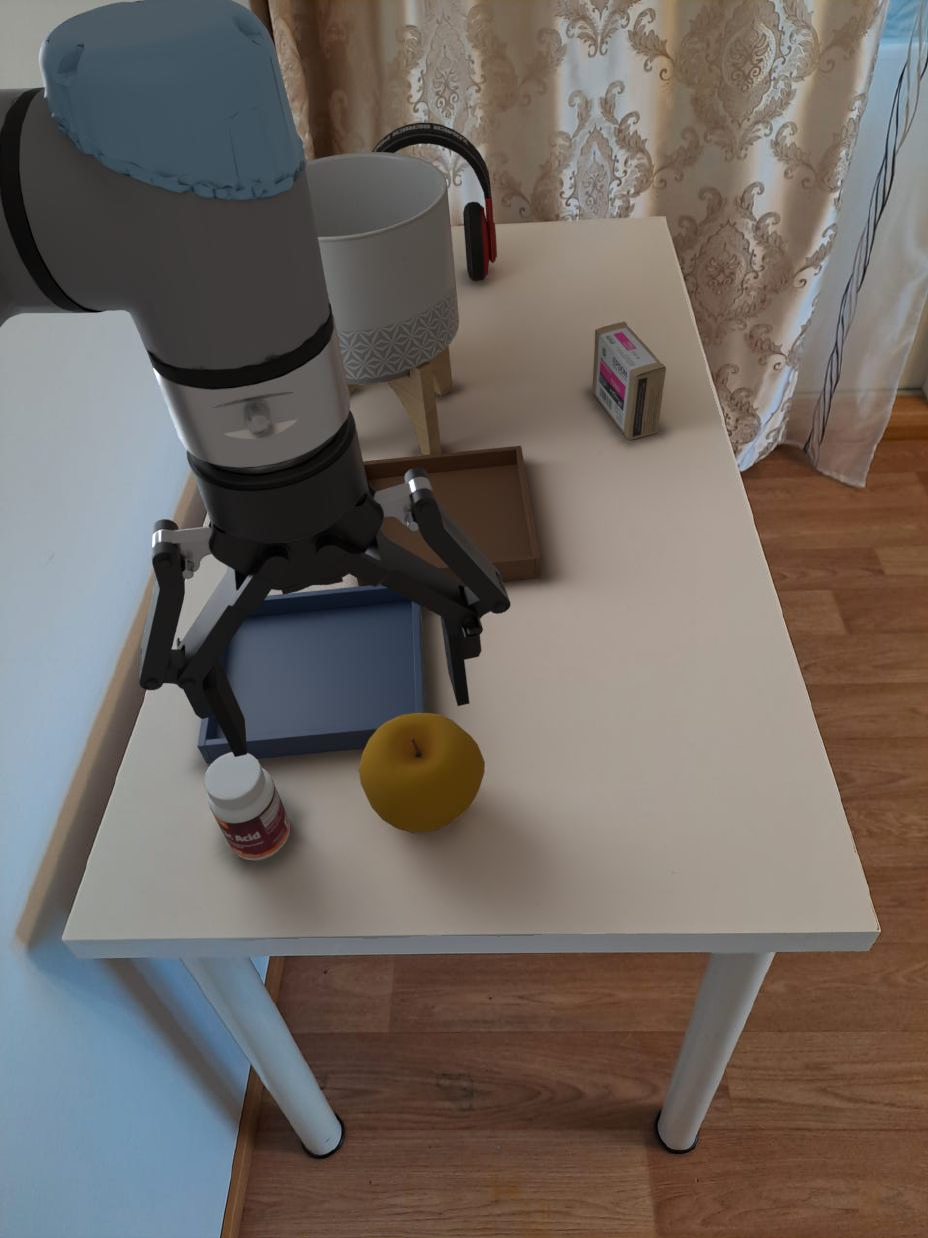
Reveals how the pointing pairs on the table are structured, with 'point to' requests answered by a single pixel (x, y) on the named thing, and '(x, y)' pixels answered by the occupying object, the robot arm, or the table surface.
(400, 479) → the medicine tray
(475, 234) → the headphones
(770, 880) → the table surface
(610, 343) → the ink box
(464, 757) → the apple
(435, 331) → the planter
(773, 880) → the table surface
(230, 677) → the fruit tray
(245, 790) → the pill bottle
